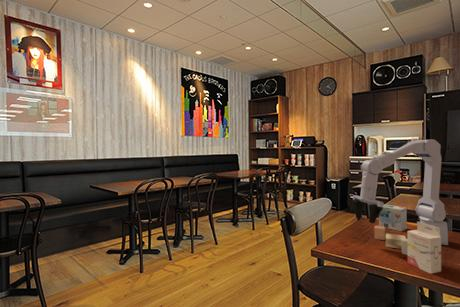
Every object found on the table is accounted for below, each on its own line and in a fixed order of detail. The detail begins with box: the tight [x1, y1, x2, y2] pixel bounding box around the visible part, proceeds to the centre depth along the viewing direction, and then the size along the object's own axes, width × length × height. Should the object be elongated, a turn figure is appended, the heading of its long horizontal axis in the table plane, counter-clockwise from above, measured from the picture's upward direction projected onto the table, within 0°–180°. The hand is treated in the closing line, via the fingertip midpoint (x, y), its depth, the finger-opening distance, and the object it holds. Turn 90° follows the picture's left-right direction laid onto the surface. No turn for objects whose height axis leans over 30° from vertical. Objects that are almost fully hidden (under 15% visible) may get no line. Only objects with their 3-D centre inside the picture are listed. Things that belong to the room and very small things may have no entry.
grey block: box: [401, 237, 408, 256], centre depth 103 cm, size 4×4×5 cm
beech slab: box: [385, 232, 407, 250], centre depth 111 cm, size 7×7×4 cm
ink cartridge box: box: [407, 221, 442, 274], centre depth 91 cm, size 9×5×15 cm, turn 17°
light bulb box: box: [378, 203, 408, 232], centre depth 134 cm, size 11×7×11 cm, turn 37°
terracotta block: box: [373, 225, 386, 241], centre depth 120 cm, size 4×4×5 cm
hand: (364, 220), depth 112 cm, fingers open, 7 cm apart
